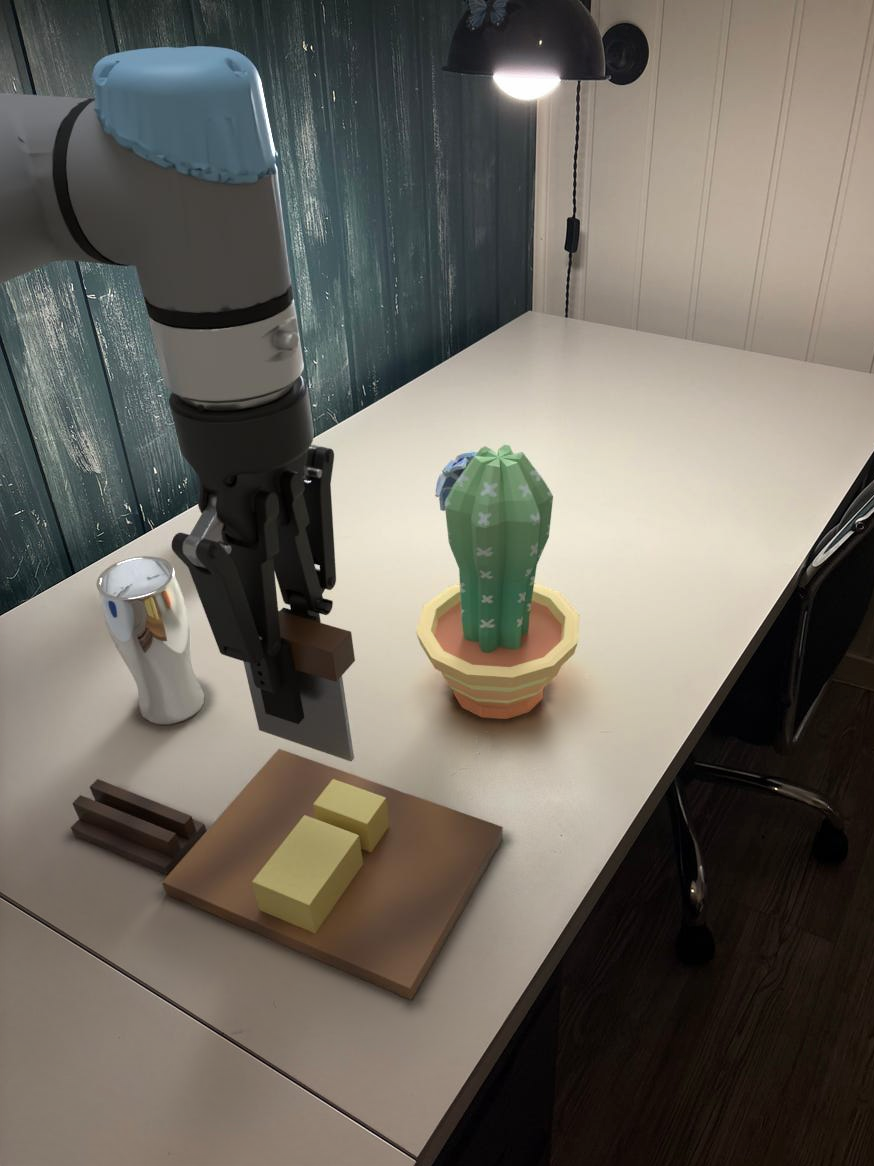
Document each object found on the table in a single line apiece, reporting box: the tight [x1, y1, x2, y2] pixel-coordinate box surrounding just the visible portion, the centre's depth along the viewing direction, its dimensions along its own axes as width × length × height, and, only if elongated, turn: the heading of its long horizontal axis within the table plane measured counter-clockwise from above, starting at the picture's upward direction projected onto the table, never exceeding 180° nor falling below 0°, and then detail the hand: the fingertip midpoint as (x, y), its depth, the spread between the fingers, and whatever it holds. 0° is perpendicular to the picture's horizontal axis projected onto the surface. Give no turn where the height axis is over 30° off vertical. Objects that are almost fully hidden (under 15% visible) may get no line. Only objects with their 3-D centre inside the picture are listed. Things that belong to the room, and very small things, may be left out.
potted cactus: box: [415, 444, 581, 720], centre depth 85 cm, size 15×15×25 cm
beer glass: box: [96, 556, 205, 725], centre depth 87 cm, size 7×7×15 cm
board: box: [161, 748, 504, 1000], centre depth 76 cm, size 22×16×2 cm
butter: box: [252, 815, 363, 933], centre depth 72 cm, size 5×7×4 cm
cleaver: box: [242, 610, 356, 762], centre depth 66 cm, size 9×2×11 cm, turn 65°
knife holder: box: [70, 778, 207, 876], centre depth 79 cm, size 10×5×3 cm, turn 65°
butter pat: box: [313, 779, 389, 852], centre depth 76 cm, size 5×3×4 cm, turn 65°
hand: (297, 701), depth 66 cm, fingers closed on cleaver, 2 cm apart
